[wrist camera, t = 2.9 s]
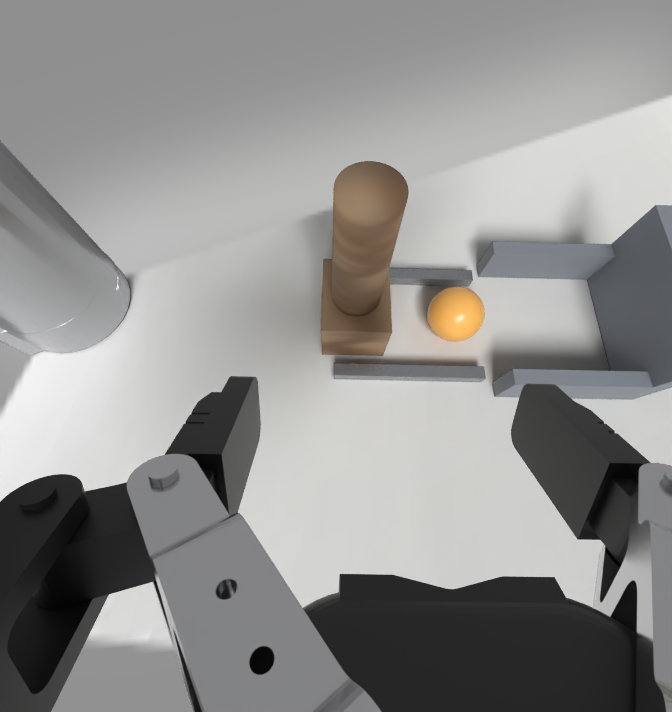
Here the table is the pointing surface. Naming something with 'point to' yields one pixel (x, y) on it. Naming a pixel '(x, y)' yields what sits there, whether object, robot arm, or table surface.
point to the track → (416, 370)
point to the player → (361, 259)
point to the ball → (455, 314)
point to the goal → (605, 306)
